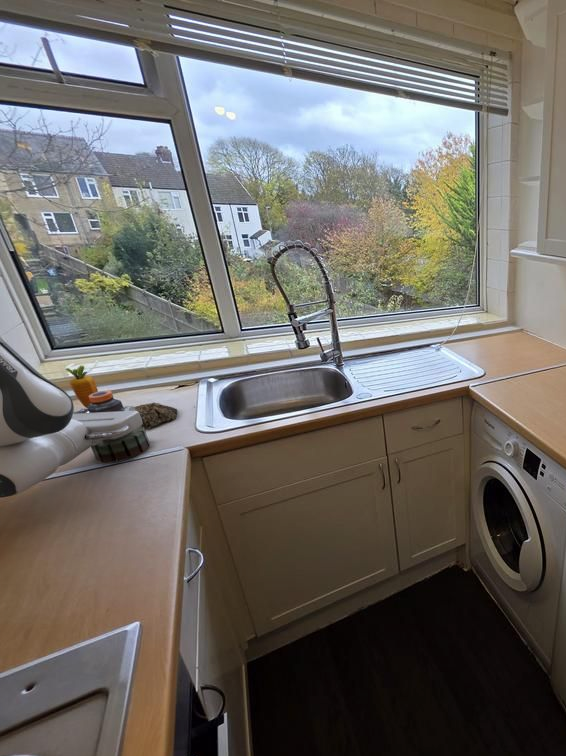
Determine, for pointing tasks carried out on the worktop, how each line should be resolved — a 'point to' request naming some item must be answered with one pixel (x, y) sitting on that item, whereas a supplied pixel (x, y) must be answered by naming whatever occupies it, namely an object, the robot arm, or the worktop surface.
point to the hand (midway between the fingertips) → (108, 409)
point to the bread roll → (155, 414)
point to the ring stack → (121, 446)
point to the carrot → (82, 385)
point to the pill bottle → (104, 404)
